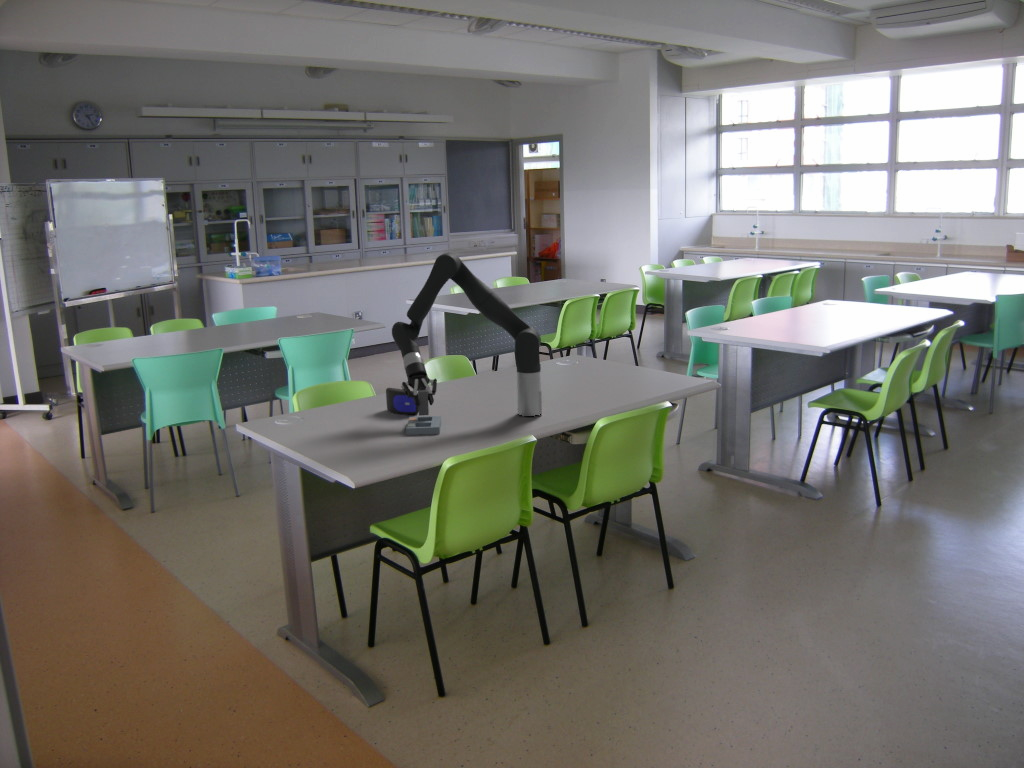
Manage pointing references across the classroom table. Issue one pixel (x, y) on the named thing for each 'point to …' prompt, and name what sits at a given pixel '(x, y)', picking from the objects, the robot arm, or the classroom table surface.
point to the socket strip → (423, 425)
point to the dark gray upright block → (423, 402)
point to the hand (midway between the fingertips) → (425, 404)
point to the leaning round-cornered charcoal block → (400, 402)
